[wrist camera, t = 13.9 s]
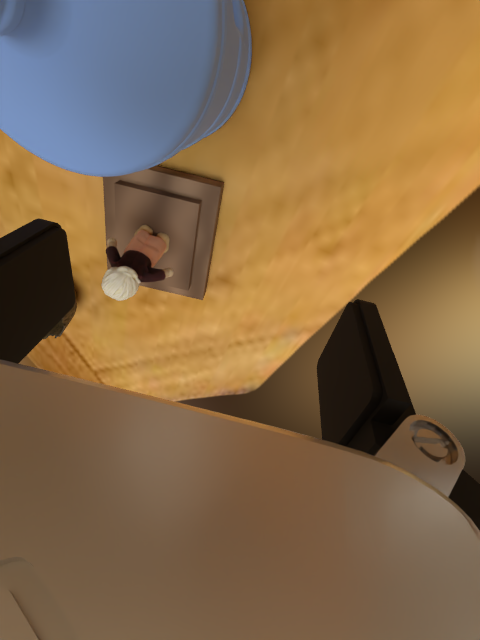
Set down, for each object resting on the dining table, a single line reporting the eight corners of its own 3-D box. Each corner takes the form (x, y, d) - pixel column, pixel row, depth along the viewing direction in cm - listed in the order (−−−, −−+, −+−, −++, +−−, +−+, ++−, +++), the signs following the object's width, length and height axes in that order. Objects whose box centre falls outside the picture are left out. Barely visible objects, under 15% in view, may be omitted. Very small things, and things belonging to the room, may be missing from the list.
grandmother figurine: (125, 245, 41) (73, 296, 30) (128, 216, 38) (72, 262, 28) (183, 263, 41) (151, 319, 31) (189, 236, 39) (156, 287, 29)
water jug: (230, 159, 37) (153, 261, 15) (98, 115, 36) (-211, 152, 13) (274, -28, 28) (251, -537, 5) (99, -95, 27) (-875, -1109, 4)
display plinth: (224, 182, 39) (219, 190, 36) (205, 291, 48) (200, 305, 45) (111, 154, 38) (96, 160, 35) (115, 269, 48) (103, 282, 44)
